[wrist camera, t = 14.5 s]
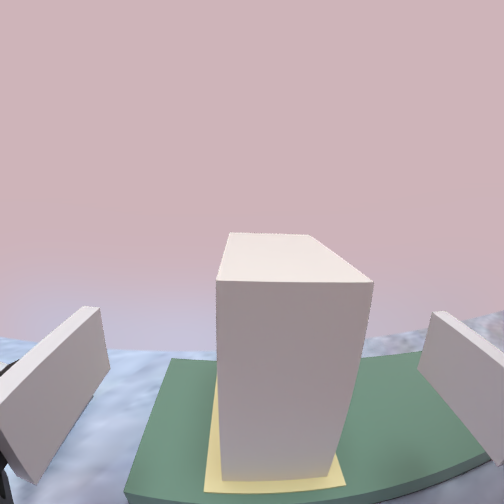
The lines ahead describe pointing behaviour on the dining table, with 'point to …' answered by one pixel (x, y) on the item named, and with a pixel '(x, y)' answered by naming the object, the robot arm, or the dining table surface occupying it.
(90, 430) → the dining table surface
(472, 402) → the robot arm
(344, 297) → the block
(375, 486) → the board
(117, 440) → the dining table surface
